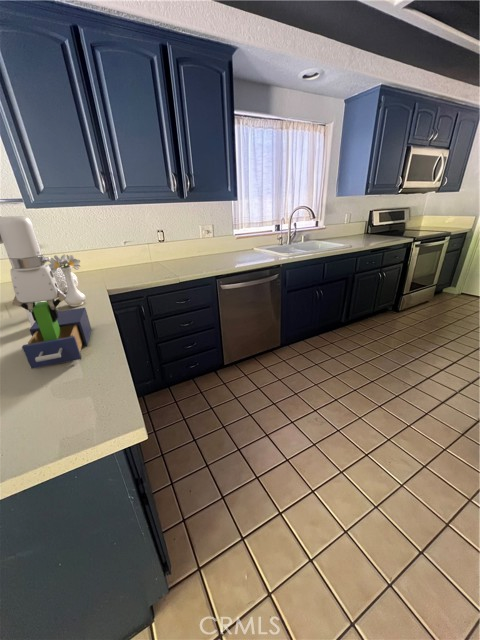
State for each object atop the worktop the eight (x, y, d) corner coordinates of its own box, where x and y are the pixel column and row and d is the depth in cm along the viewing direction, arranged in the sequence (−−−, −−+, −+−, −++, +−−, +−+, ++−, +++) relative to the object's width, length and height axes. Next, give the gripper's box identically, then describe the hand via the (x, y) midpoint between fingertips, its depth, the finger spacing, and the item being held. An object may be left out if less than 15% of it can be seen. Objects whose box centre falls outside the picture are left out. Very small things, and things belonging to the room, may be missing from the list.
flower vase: (92, 297, 144) (79, 250, 134) (88, 308, 129) (73, 256, 118) (65, 300, 140) (49, 252, 130) (57, 312, 124) (39, 259, 114)
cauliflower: (65, 282, 140) (51, 256, 141) (38, 300, 141) (23, 274, 141) (89, 288, 160) (76, 265, 161) (65, 303, 160) (52, 280, 161)
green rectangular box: (44, 341, 82) (32, 308, 77) (48, 333, 87) (37, 302, 82) (57, 339, 83) (46, 307, 78) (61, 331, 88) (51, 300, 84)
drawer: (78, 367, 80) (71, 344, 77) (26, 378, 76) (16, 354, 73) (85, 340, 96) (80, 321, 93) (42, 348, 91) (34, 328, 88)
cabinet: (87, 345, 94) (80, 321, 90) (39, 355, 89) (29, 329, 85) (91, 329, 107) (85, 307, 103) (49, 336, 102) (41, 313, 98)
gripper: (63, 258, 81) (79, 313, 89) (-3, 262, 75) (19, 321, 83) (58, 262, 75) (76, 321, 82) (-15, 268, 69) (11, 330, 77)
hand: (47, 320), depth 83 cm, fingers closed on green rectangular box, 3 cm apart
